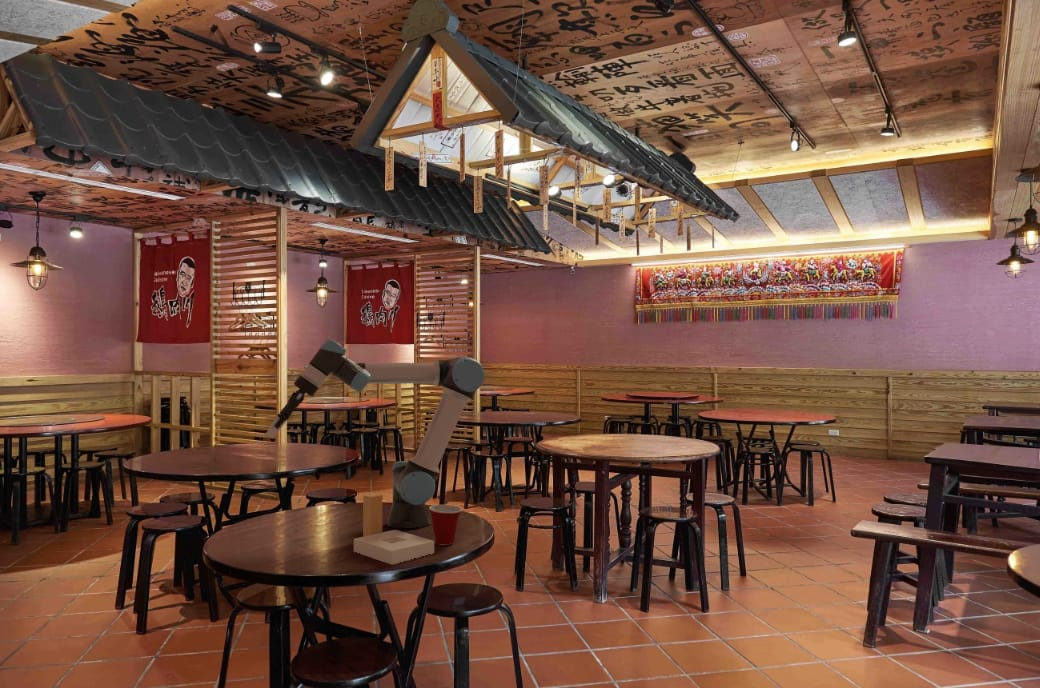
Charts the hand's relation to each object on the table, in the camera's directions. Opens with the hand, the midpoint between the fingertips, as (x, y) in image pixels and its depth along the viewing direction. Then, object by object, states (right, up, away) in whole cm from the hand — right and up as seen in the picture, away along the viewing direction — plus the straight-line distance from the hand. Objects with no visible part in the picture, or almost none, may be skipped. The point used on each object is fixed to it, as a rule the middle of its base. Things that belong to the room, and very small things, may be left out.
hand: (269, 434), depth 231 cm
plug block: (+33, -36, +5) cm, 49 cm away
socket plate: (+42, -36, -10) cm, 56 cm away
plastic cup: (+57, -36, +1) cm, 68 cm away
